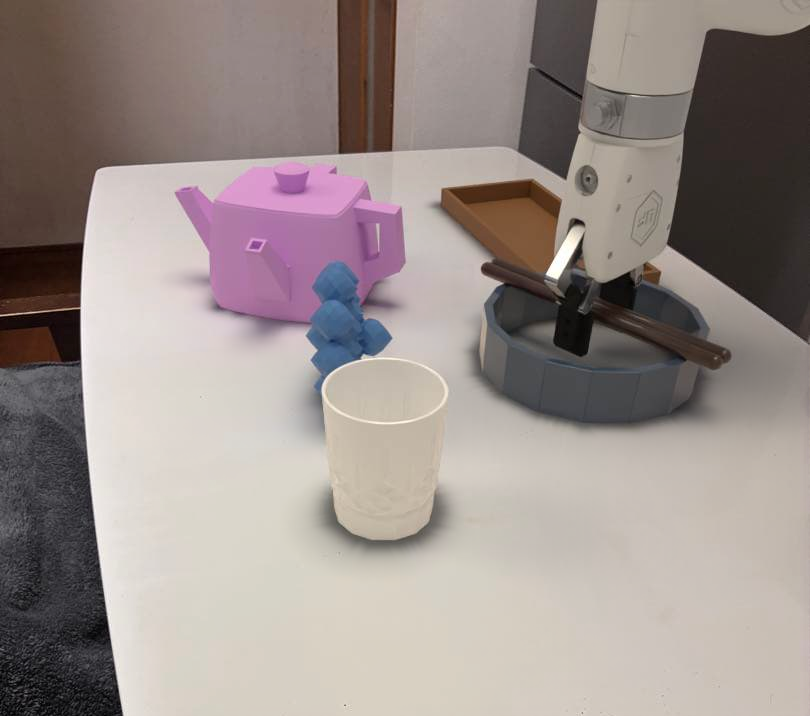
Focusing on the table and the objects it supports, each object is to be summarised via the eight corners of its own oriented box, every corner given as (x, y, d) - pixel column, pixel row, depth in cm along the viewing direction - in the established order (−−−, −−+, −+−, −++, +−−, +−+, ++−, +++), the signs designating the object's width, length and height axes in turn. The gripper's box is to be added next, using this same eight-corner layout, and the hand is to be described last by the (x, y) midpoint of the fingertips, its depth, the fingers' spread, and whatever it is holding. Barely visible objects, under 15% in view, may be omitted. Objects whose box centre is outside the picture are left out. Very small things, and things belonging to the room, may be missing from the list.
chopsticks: (495, 267, 79) (497, 254, 78) (732, 363, 67) (736, 349, 66) (477, 275, 78) (478, 262, 77) (715, 374, 65) (719, 360, 64)
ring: (562, 301, 85) (570, 252, 82) (732, 370, 76) (749, 319, 72) (436, 365, 75) (439, 312, 72) (614, 455, 66) (627, 399, 62)
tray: (440, 209, 103) (441, 187, 102) (530, 198, 107) (532, 178, 105) (550, 311, 84) (553, 287, 82) (656, 294, 87) (661, 271, 85)
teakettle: (416, 311, 83) (421, 180, 75) (254, 353, 76) (240, 214, 68) (333, 248, 93) (329, 127, 85) (184, 280, 86) (165, 152, 78)
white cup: (393, 567, 55) (396, 439, 49) (303, 518, 59) (294, 392, 52) (461, 507, 60) (473, 384, 54) (374, 465, 64) (375, 344, 57)
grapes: (390, 444, 66) (393, 298, 58) (302, 442, 66) (293, 296, 58) (392, 367, 75) (395, 231, 67) (314, 365, 74) (308, 229, 66)
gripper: (610, 147, 55) (567, 391, 67) (739, 100, 64) (681, 322, 76) (518, 121, 59) (493, 356, 71) (652, 80, 68) (610, 294, 80)
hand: (591, 336), depth 73 cm, fingers open, 5 cm apart
